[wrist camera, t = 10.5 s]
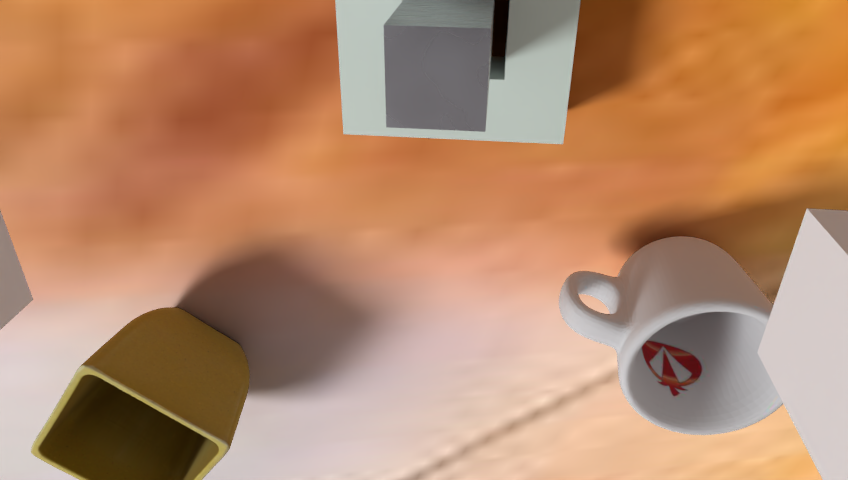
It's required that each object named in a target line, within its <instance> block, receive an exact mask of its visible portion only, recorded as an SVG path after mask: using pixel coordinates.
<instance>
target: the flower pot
mask: <svg viewBox="0 0 848 480" xmlns="http://www.w3.org/2000/svg"><path fill="white" fill-rule="evenodd" d="M249 378H250V375H249V366H248V362H247V359H246V356H245V353H244V351H243V349H242V347H241V346H240V345H239V344H238V343H236V342H235V341H233V340H232V339H230V338H228V337H227V336H225V335H223V334H222V333H220V332H218V331H217V330H215V329H213V328H212V327H210V326H208V325H207V324H205V323H203V322H202V321H200V320H199V319H197V318H195V317H194V316H192V315H191V314H189V313H187V312H186V311H184V310H182V309H180V308H177V307H174V308H160V309H156V310H152V311H150V312H147V313H145V314H143V315H141V316H139V317H137V318H135V319H134V320H132V321H131V322H130V323H128V324H127V325H126V326H125V327H124V328H122V329H121V330H120V331H119V332H118V333H117V334H116V335H114V336H113V337H112V338H111V339H110V340H109V341H108V342H106V343H105V344H104V345H103V346H102V347H101V348H100V349H99V350H98V351H96V352H95V353H94V354H93V355H92V356H91V357H90V358H89V359H88V360H87V361H86V362H84V363H83V364H82V365H81V366H80V367H79V368H78V370H77V371H76V373H75V375H74V377H73V378H72V380H71V382H70V383H69V385H68V387H67V389H66V390H65V392H64V394H63V395H62V397H61V399H60V401H59V402H58V404H57V405H56V407H55V409H54V410H53V412H52V414H51V416H50V417H49V419H48V421H47V422H46V424H45V425H44V427H43V429H42V430H41V432H40V433H39V435H38V436H37V438H36V440H35V441H34V443H33V445H32V449H31V453H32V454H33V455H34V456H36V457H37V458H39V459H41V460H43V461H44V462H46V463H48V464H50V465H52V466H53V467H55V468H58V469H59V470H62V471H64V472H66V473H67V474H70V475H72V476H73V477H75V478H77V479H79V480H202V479H203V478H204V477H205V476H206V475H207V474H208V473H209V472H210V470H211V469H212V468H213V467H214V466H215V465H216V464H217V463H218V462H219V461H220V460H221V459H222V458H223V457H224V455H225V454H226V453H227V452H228V450H229V449H230V446H231V443H232V440H233V437H234V433H235V430H236V427H237V424H238V421H239V418H240V415H241V412H242V409H243V406H244V403H245V399H246V396H247V392H248V388H249Z"/></svg>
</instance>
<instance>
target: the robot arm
mask: <svg viewBox="0 0 848 480" xmlns="http://www.w3.org/2000/svg"><path fill="white" fill-rule="evenodd" d="M32 300H33V298H32V295H31V292H30V289H29V287H28V284H27V281H26V279H25V276H24V273H23V271H22V268H21V265H20V262H19V260H18V257H17V254H16V252H15V249H14V246H13V243H12V241H11V238H10V235H9V233H8V230H7V227H6V224H5V222H4V219H3V216H2V214H1V211H0V329H2V328H3V327H4V326H5V325H6V324H7V323H8V322H9V321H10V320H11V319H12V318H14V317H15V316H16V315H17V314H18V313H19V312H20V311H21V310H22V309H23V308H24V307H26V306H27V305H28V304H29V303H30V302H31V301H32ZM757 353H758V355H759V357H760V359H761V361H762V363H763V365H764V367H765V369H766V371H767V373H768V374H769V376H770V378H771V380H772V382H773V384H774V386H775V388H776V390H777V392H778V394H779V396H780V398H781V400H782V402H783V404H784V406H785V408H786V409H787V411H788V413H789V415H790V417H791V419H792V421H793V423H794V425H795V427H796V429H797V431H798V433H799V435H800V437H801V439H802V441H803V442H804V444H805V446H806V448H807V450H808V452H809V454H810V456H811V458H812V460H813V462H814V464H815V466H816V468H817V470H818V472H819V474H820V475H821V477H822V479H823V480H848V211H846V210H827V209H808V208H807V209H806V212H805V215H804V218H803V221H802V224H801V227H800V230H799V233H798V236H797V238H796V241H795V244H794V247H793V250H792V253H791V256H790V259H789V262H788V265H787V268H786V270H785V273H784V276H783V279H782V282H781V285H780V288H779V291H778V294H777V297H776V300H775V302H774V305H773V308H772V311H771V314H770V317H769V320H768V323H767V326H766V329H765V332H764V334H763V337H762V340H761V343H760V346H759V349H758V352H757Z"/></svg>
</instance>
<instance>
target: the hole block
mask: <svg viewBox="0 0 848 480" xmlns="http://www.w3.org/2000/svg"><path fill="white" fill-rule="evenodd" d="M402 1H403V0H335V2H336V18H337V35H338V51H339V68H340V84H341V100H342V117H343V133H344V134H353V135H374V136H396V137H418V138H440V139H462V140H483V141H505V142H527V143H549V144H563V141H564V133H565V125H566V116H567V108H568V100H569V92H570V83H571V75H572V67H573V59H574V51H575V42H576V34H577V26H578V18H579V9H580V1H581V0H509V1H508V16H507V31H506V45H505V56H492V57H491V69H490V81H489V94H488V106H487V118H486V130H485V132H479V131H457V130H434V129H412V128H389V127H386V101H385V62H384V24H385V23H386V21H387V20H388V19H389V18H390V16H391V15H392V14H393V13H394V11H395V10H396V9H397V7H398V6H399V5H400V4H401V2H402Z"/></svg>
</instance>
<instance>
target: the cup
mask: <svg viewBox="0 0 848 480" xmlns="http://www.w3.org/2000/svg"><path fill="white" fill-rule="evenodd" d="M578 294H586V295H590V296H592V297H595V298H597V299H598V300H600V301H601V302H602V303H604V304H605V305H606V307H607V308H608V310H609V312H610V314H604V313H600V312H597V311H594V310H593V309H591V308H589V307H588V306H586V305H585V304H584V303H583V302H582V301H581V300H580V298H579V296H578ZM559 308H560V312H561V315H562V317H563V319H564V321H565V322H566V323H567V325H568V326H569V327H570V328H571V329H573V330H574V331H575V332H576V333H578V334H580V335H581V336H584V337H586V338H588V339H590V340H593V341H596V342H599V343H602V344H605V345H607V346H610V347H612V348H614V349H615V350H616V352H617V361H618V375H619V381H620V385H621V389H622V391H623V394H624V396H625V397H626V399H627V401H628V402H629V404H630V405H631V406H632V407H633V409H634V410H635V411H636V412H637V413H639V414H640V415H641V416H642V417H643V418H645V419H646V420H648V421H650V422H651V423H653V424H655V425H657V426H659V427H661V428H664V429H667V430H670V431H674V432H679V433H683V434H692V435H712V434H720V433H726V432H731V431H735V430H738V429H742V428H745V427H747V426H750V425H752V424H754V423H756V422H758V421H760V420H762V419H764V418H766V417H767V416H769V415H770V414H772V413H773V412H774V411H776V410H777V409H778V408H779V407H780V406H781V405H782V404H783V402H782V400H781V398H780V396H779V394H778V392H777V390H776V388H775V386H774V384H773V382H772V380H771V378H770V376H769V374H768V373H767V371H766V369H765V367H764V365H763V363H762V361H761V359H760V357H759V355H758V353H757V352H758V349H759V346H760V343H761V340H762V337H763V334H764V332H765V329H766V326H767V323H768V320H769V317H770V314H771V311H772V308H773V304H772V303H771V302H770V301H769V300H768V299H767V297H766V296H765V295H764V294H763V293H762V291H761V290H760V289H759V288H758V287H757V285H756V284H755V283H754V282H753V281H752V279H751V278H750V277H749V276H748V275H747V274H746V272H745V271H744V270H743V269H742V268H741V266H740V265H739V264H738V263H737V262H736V261H735V260H734V259H733V258H732V257H731V256H730V255H729V254H728V253H727V252H726V251H724V250H723V249H722V248H720V247H718V246H717V245H715V244H713V243H711V242H709V241H706V240H703V239H700V238H695V237H687V236H676V237H668V238H663V239H660V240H657V241H654V242H651V243H649V244H647V245H646V246H644V247H642V248H641V249H639V250H638V251H636V252H635V253H634V254H633V255H632V256H631V257H630V258H629V259H628V260H627V261H626V262H625V264H624V265H623V267H622V268H621V270H620V272H619V274H618V277H611V276H607V275H604V274H600V273H595V272H590V271H578V272H575V273H573V274H571V275H570V276H569V277H568V278H567V279H566V280H565V282H564V284H563V286H562V289H561V292H560V296H559Z"/></svg>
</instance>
